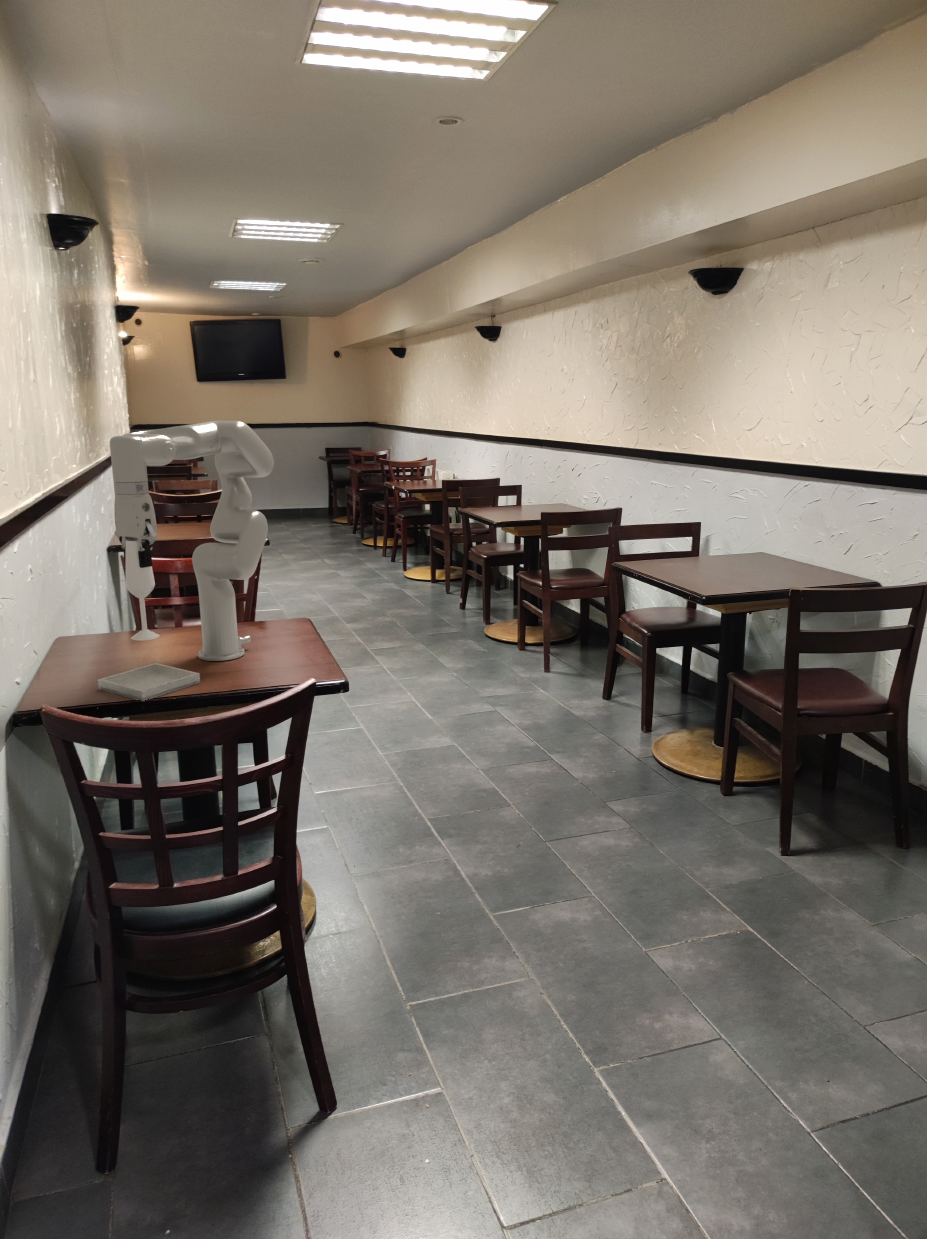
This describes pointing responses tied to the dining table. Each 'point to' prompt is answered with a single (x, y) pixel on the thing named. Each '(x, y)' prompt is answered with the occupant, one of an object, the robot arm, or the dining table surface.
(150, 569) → the champagne flute
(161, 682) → the serving tray
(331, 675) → the dining table surface
